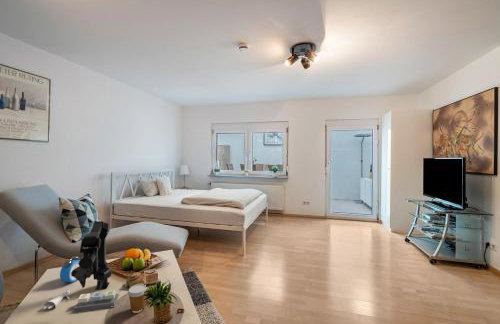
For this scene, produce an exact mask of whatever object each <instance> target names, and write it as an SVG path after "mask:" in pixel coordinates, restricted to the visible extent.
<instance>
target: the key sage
mask: <svg viewBox="0 0 500 324" xmlns="http://www.w3.org/2000/svg"><path fill="white" fill-rule="evenodd" d="M116 294H117V290H107V291H106V292H105V294H104V295H105V300H106V299H114V297H115V295H116Z"/></svg>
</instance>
